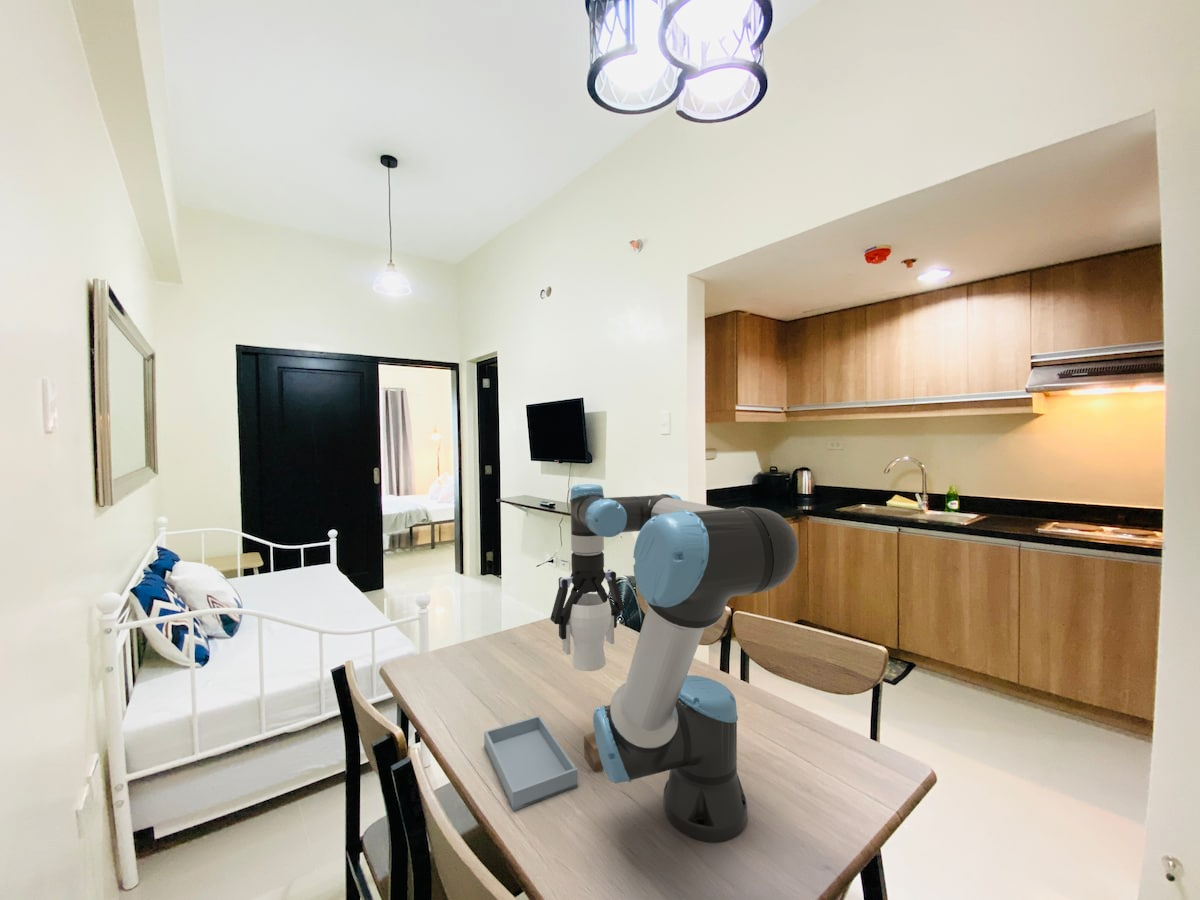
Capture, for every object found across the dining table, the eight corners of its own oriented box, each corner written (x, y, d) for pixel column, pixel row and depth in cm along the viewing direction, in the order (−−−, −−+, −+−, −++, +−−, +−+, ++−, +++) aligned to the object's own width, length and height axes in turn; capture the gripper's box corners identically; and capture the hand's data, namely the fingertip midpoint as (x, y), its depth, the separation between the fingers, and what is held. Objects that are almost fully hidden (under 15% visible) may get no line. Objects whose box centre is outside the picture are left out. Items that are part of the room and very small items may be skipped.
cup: (607, 676, 105) (606, 608, 104) (560, 672, 107) (559, 605, 107) (615, 655, 115) (614, 593, 115) (572, 652, 117) (571, 591, 117)
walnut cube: (615, 764, 102) (615, 741, 101) (594, 772, 99) (594, 748, 99) (604, 751, 106) (604, 728, 106) (584, 758, 104) (583, 735, 104)
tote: (577, 786, 95) (577, 769, 95) (513, 811, 89) (512, 792, 89) (539, 729, 114) (539, 715, 114) (484, 746, 108) (484, 731, 108)
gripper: (622, 543, 119) (623, 631, 120) (534, 554, 108) (536, 651, 109) (638, 549, 113) (639, 642, 113) (546, 561, 102) (548, 664, 102)
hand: (588, 646), depth 111 cm, fingers closed on cup, 10 cm apart
